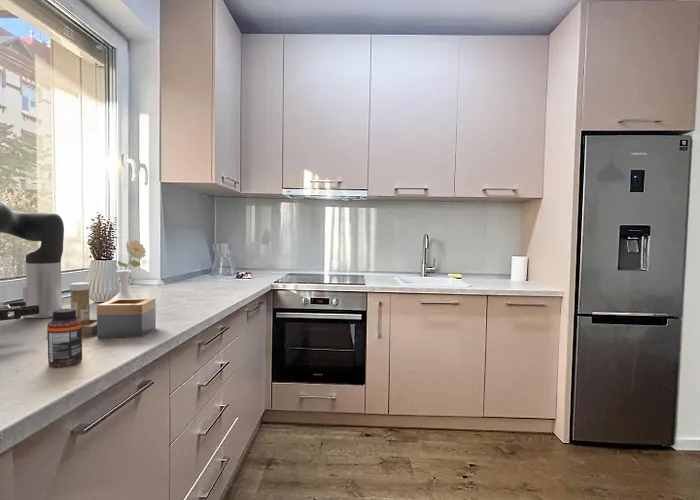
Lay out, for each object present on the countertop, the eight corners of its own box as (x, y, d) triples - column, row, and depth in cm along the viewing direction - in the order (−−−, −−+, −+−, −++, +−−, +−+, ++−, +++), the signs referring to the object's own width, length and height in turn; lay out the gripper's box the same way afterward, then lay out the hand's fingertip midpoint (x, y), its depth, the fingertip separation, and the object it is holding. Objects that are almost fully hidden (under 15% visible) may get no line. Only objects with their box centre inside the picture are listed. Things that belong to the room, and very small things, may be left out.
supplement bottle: (58, 359, 92) (58, 307, 91) (88, 359, 92) (87, 307, 92) (41, 368, 86) (40, 312, 85) (72, 368, 86) (71, 312, 86)
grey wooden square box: (97, 337, 111) (96, 305, 110) (114, 328, 122) (114, 298, 121) (142, 337, 112) (141, 304, 112) (155, 327, 123) (155, 298, 123)
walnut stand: (47, 336, 111) (47, 327, 111) (69, 327, 122) (69, 319, 122) (92, 336, 112) (92, 326, 112) (110, 327, 123) (110, 318, 123)
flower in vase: (114, 314, 143) (113, 239, 142) (100, 309, 150) (99, 238, 149) (152, 308, 153) (152, 239, 152) (137, 305, 160) (137, 238, 160)
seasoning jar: (90, 332, 117) (90, 283, 116) (70, 334, 114) (70, 284, 114) (89, 329, 120) (89, 281, 120) (70, 331, 118) (69, 282, 117)
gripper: (-46, 303, 90) (43, 295, 103) (-64, 297, 98) (20, 290, 112) (-45, 338, 90) (43, 326, 104) (-64, 329, 99) (21, 318, 112)
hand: (31, 307), depth 108 cm, fingers open, 8 cm apart
